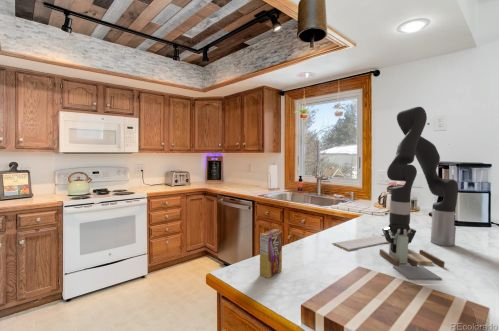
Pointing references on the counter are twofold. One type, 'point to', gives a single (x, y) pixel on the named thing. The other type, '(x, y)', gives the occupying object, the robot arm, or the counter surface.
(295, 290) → the counter surface
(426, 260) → the upper offcut
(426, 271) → the rubber mat
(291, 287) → the counter surface
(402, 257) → the pale green block
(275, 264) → the candy box
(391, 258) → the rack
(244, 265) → the counter surface
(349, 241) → the baseboard molding
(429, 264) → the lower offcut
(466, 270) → the counter surface
